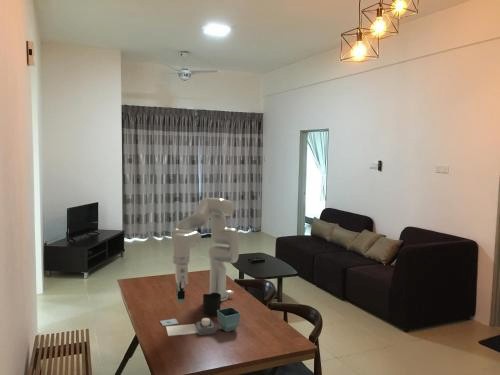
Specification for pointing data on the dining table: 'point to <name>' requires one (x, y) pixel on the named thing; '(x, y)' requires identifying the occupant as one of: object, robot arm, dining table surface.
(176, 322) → the card
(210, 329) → the button box
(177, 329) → the paper
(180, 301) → the marker
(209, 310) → the pen holder
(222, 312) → the flower pot
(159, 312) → the dining table surface
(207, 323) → the cream ball
